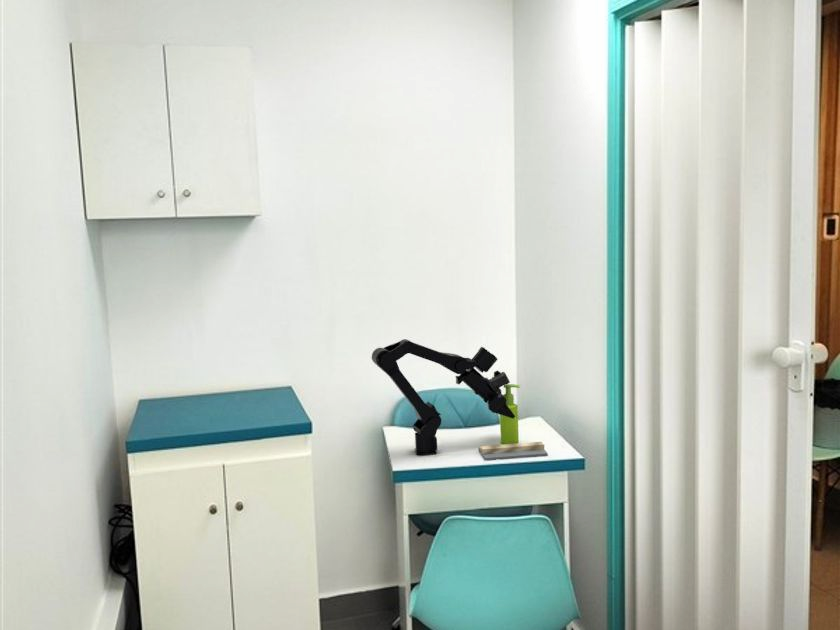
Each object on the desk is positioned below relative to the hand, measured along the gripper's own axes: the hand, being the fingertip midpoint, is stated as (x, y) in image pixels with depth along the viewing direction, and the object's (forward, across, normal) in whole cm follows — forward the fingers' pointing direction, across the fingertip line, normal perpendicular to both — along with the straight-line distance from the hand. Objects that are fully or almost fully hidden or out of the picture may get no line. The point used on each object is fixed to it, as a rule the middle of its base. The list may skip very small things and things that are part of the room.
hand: (512, 413), depth 250 cm
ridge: (+6, -10, +8) cm, 14 cm away
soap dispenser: (+7, 0, +8) cm, 10 cm away
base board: (+6, -10, +8) cm, 14 cm away
